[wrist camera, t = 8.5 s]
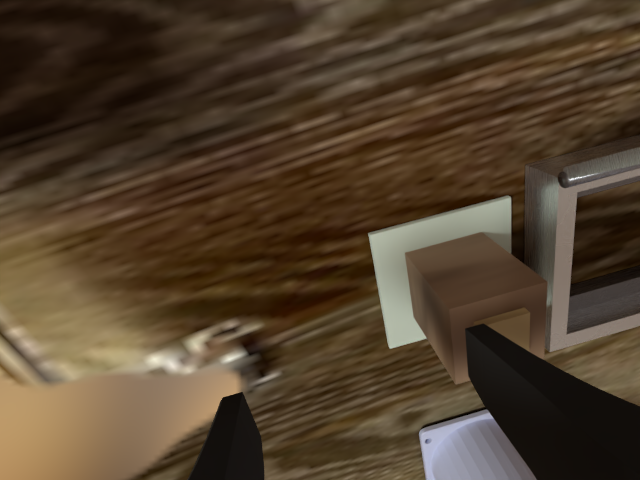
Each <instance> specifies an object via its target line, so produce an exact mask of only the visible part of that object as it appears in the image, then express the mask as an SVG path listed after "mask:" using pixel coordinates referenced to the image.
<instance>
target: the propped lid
mask: <svg viewBox="0 0 640 480" xmlns="http://www.w3.org/2000/svg"><path fill="white" fill-rule="evenodd" d="M639 168H640V147H638V148H634V149H630V150H627V151H623V152H619V153H616V154H612V155H608V156H604V157H601V158H597V159H593V160H589V161H586V162H582V163H578V164H574V165H571V166H567V167H563V171H562V172H560V173H559V175H558V182H559V184H560V186H561V187H562V188H569V187H572V186H576V185H580V184H583V183H587V182H591V181H595V180H598V179H602V178H606V177H609V176H613V175H617V174H620V173H624V172H628V171H632V170H635V169H639Z"/></svg>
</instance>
